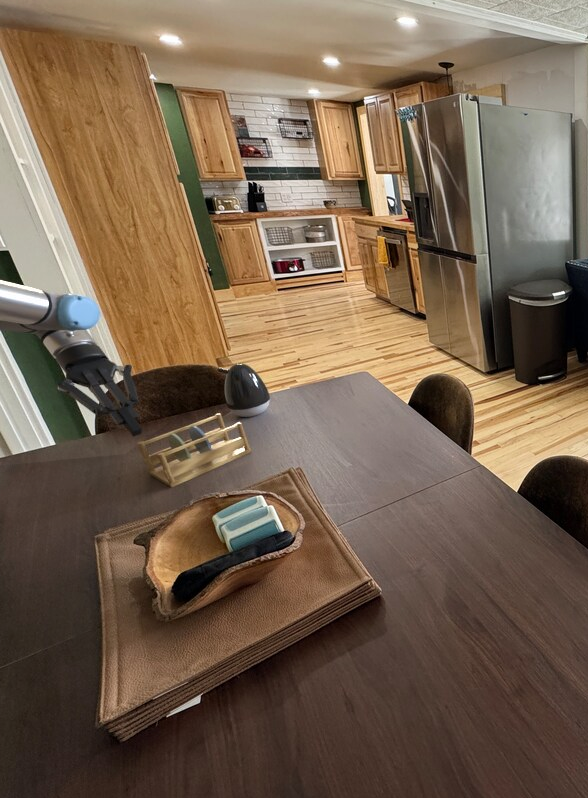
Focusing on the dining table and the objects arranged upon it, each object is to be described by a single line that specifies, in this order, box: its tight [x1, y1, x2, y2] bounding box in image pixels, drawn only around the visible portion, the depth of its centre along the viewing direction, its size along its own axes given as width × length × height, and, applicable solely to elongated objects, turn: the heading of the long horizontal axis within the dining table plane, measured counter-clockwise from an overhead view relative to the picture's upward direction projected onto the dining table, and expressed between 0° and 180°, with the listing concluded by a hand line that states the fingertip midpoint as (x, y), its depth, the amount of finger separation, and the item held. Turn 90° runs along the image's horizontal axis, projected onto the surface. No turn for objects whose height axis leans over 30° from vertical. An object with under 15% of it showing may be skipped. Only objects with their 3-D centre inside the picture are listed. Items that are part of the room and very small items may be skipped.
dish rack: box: [136, 412, 252, 488], centre depth 109 cm, size 16×10×9 cm, turn 152°
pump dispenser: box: [216, 363, 271, 418], centre depth 134 cm, size 10×10×15 cm
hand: (137, 432), depth 108 cm, fingers closed
